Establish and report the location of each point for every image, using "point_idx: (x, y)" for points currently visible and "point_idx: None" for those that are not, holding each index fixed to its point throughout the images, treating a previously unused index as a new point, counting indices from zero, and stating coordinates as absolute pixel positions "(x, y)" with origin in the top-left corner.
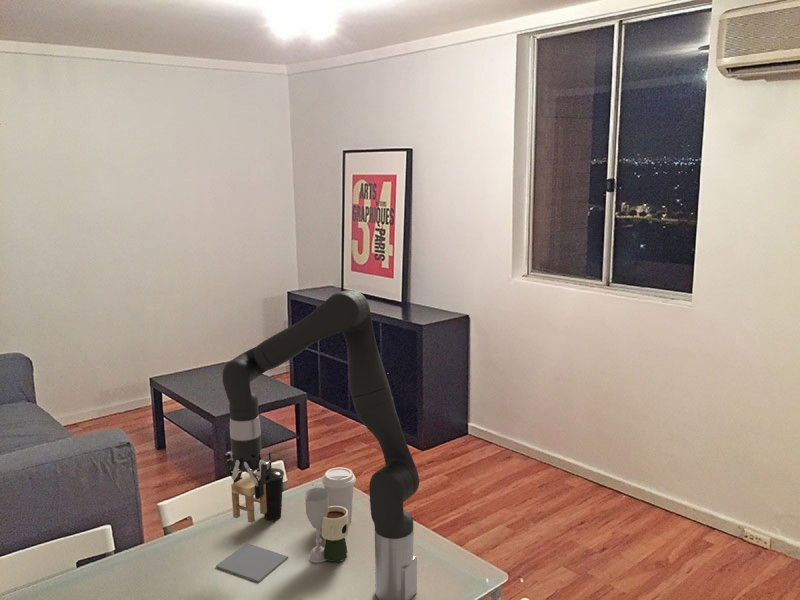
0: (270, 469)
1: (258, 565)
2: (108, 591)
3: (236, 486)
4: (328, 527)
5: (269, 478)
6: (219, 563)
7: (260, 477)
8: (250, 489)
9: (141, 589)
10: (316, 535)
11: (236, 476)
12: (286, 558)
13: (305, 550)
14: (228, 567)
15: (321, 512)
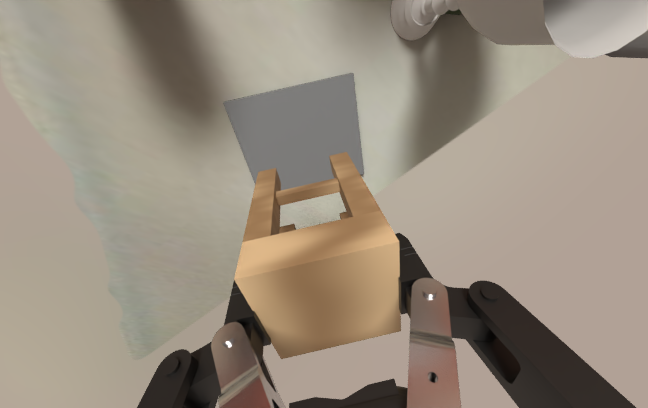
0: (613, 392)
1: (325, 144)
2: (206, 309)
3: (315, 350)
4: None
5: (517, 308)
6: None
7: (432, 321)
8: (400, 328)
9: None
10: (454, 10)
11: (270, 375)
12: (353, 80)
13: (364, 8)
14: (284, 186)
15: (582, 2)
